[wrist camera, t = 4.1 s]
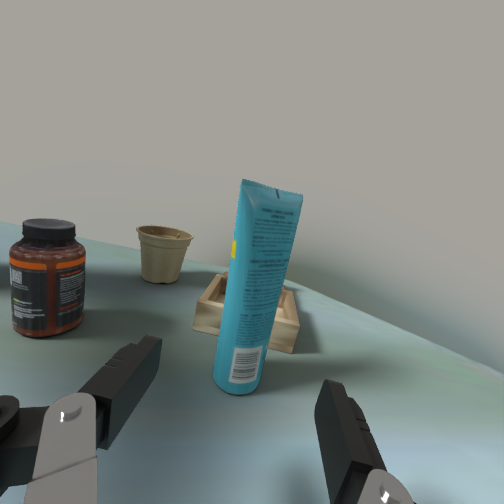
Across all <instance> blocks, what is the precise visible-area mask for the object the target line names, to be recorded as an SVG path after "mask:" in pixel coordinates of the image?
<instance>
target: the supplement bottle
mask: <svg viewBox="0 0 504 504" xmlns="http://www.w3.org/2000/svg"><path fill="white" fill-rule="evenodd" d="M22 234H23V235H24V237H23V238H22V239H21V240H20V241H18V242H16V243H15V244H14V245H12V247H11V248H10V253H9V259H10V283H11V304H12V322H13V328H14V330H15V331H16V332H18V333H19V334H22V335H25V336H30V337H44V336H52V335H56V334H60V333H63V332H66V331H68V330H70V329H72V328H74V327H75V326H77V325H78V324H79V323H80V322H81V320H82V319H83V313H84V293H85V261H86V252H85V248H84V246H83V245H81V244H80V243H78V242H77V241H76V240H75V238H74V237H75V236H76V234H75V224H73V223H71V222H68V221H64V220H57V219H29V220H26V221H24V222H23V232H22Z"/></svg>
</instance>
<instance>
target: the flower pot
mask: <svg viewBox="0 0 504 504" xmlns="http://www.w3.org/2000/svg"><path fill="white" fill-rule="evenodd" d="M136 231H137V232H138V235H139V240H140V244H141V265H142V277H143V279H145V280H146V281H149V282H152V283H161V282H165V283H172V282H175V281H176V280H177V279H178V276H179V273H180V269H181V266H182V263H183V260H184V256H185V253H186V250H187V247H188V246H189V245H190V242H191V239H193V238H194V236H193V235H192V234H191V233H189V232H187V231H184V230H181V229H177V228H171V227H166V226H156V225H143V226H139V227H137V228H136Z"/></svg>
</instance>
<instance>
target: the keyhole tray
mask: <svg viewBox="0 0 504 504" xmlns="http://www.w3.org/2000/svg"><path fill="white" fill-rule="evenodd" d="M228 274H229V271H228V272H225V273H224V275H221V274H217V275H216V276H215V278H214V279H213V280H212V282H211V283H210V285H209V286H208V287H207V289H206V290H205V292H204V293H203V295H202V296H201V297H200V299H199V300H198V302H197V307H196V313H195V318H194V324H193V330H197V331H201V332H205V333H209V334H213V335H217V336H219V332H220V326H221V320H222V313H223V307H224V300H225V294H226V287H227V280H228ZM299 328H300V325H299V320H298V315H297V310H296V305H295V301H294V296H293V291H288V290H286V289H285V286H283V287H282V291H281V295H280V299H279V303H278V307H277V311H276V315H275V319H274V324H273V328H272V332H271V336H270V340H269V344H268V348H270V349H274V350H278V351H282V352H286V353H290V354H292V351H293V347H294V344H295V341H296V338H297V334H298V331H299Z"/></svg>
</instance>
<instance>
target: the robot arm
mask: <svg viewBox="0 0 504 504" xmlns="http://www.w3.org/2000/svg"><path fill="white" fill-rule="evenodd" d="M161 346H162V339H160V338H156V337H152V336H148V335H146V336H145V337H144V338H143V339H142V340H141V341H140V342H139V343H138V344H137V345H136V344H132V343H131V344H129V345H127V346H125V347H123V348H121V349H120V350H119V351H118V352H117V353H116V354H115V355H114V356H113V357H112V359H110V360H109V361H108V362H107V363H106V364H105V366H103V367H102V368H101V369H100V370H99V371H98V372H97V373H96V374H95V375H94V376H93V377H92V378H91V379H90V380H89V381H88V382H87V383H86V384H85V385H84V386H83V387H82V388H81V389H80V390H79V391H78V392H77V393H73V394H69V395H67V396H64V397H62V398H60V399H59V400H57V401H56V402H54V403H53V404H52V405H51V406H46V407H31V408H19V401H18V399H17V398H15V397H13V396H8V395H2V396H0V497H1V496H2V495H3V493H4V492H5V491H6V490H7V489H8V487H10V486H18V485H25V484H28V486H27V490H26V495H25V500H24V504H97V455H96V450H97V448H101V449H105V450H108V448H109V447H110V445H111V444H112V442H113V441H114V439H115V438H116V436H117V435H118V433H119V432H120V430H121V428H122V427H123V425H124V424H125V422H126V421H127V419H128V418H129V416H130V415H131V413H132V412H133V410H134V408H135V407H136V405H137V404H138V402H139V401H140V399H141V398H142V396H143V395H144V393H145V392H146V390H147V389H148V387H149V385H150V384H151V382H152V381H153V379H154V377H155V375H156V373H157V370H158V367H159V360H160V353H161ZM314 417H315V424H316V429H317V435H318V440H319V445H320V451H321V456H322V461H323V467H324V472H325V477H326V483H327V488H328V493H329V499H330V504H416V503H415V502H413V500H412V498H411V496H410V494H409V493H408V491H407V490H406V488H405V487H404V486H403V485H402V483H401V482H400V481H399V480H398V479H396V478H395V477H394V476H393V475H391V474H390V473H388V472H387V470H386V467H385V465H384V462H383V460H382V457H381V455H380V453H379V450H378V448H377V445H376V443H375V441H374V438H373V436H372V433H370V429H369V426H368V424H367V423H366V419H365V417H364V414H363V412H362V409H361V408H360V407H359V405H358V404H357V403H356V402H355V400H354V399H353V398H350V397H348V396H347V394H346V391H345V388H344V386H343V384H342V383H339V382H335V381H331V380H327V379H326V380H325V381H324V382H323V385H322V388H321V391H320V394H319V396H318V399H317V402H316V405H315V412H314Z"/></svg>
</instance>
